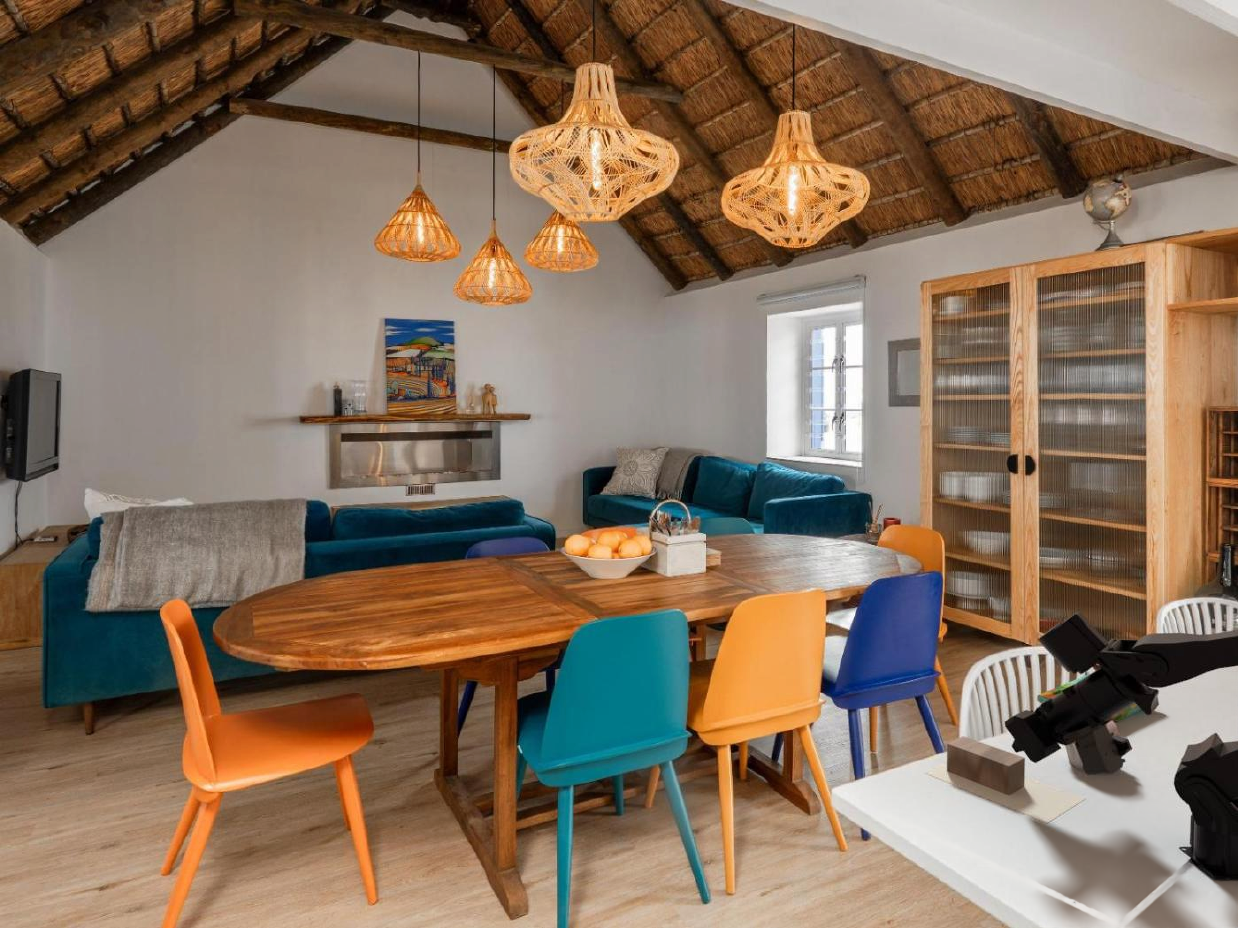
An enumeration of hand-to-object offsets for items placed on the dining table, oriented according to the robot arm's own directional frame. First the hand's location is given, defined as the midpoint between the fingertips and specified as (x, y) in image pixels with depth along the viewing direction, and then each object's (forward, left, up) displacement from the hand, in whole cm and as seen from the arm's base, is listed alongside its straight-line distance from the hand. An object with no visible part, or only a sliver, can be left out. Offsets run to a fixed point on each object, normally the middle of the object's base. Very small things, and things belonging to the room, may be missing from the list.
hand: (1014, 748), depth 118 cm
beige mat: (+2, +1, -7) cm, 7 cm away
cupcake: (+8, -17, -7) cm, 20 cm away
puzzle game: (+31, -31, -8) cm, 45 cm away
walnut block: (0, 0, -4) cm, 4 cm away
